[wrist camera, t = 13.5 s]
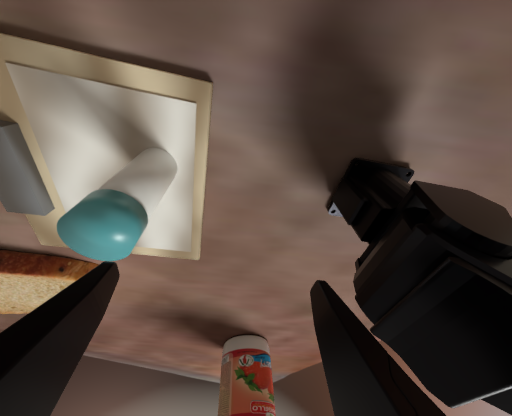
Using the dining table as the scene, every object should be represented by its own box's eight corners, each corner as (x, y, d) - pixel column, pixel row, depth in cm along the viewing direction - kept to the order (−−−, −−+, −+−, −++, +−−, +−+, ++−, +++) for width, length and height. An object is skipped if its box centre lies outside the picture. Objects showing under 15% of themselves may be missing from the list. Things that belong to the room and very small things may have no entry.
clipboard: (213, 82, 15) (209, 84, 13) (200, 255, 26) (197, 268, 24) (-68, 16, 12) (-116, 8, 11) (47, 239, 23) (32, 253, 21)
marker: (178, 150, 17) (128, 216, 9) (178, 185, 19) (136, 263, 11) (134, 142, 16) (45, 206, 9) (139, 179, 18) (69, 257, 11)
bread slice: (125, 274, 28) (110, 300, 25) (60, 319, 33) (42, 344, 30) (-49, 184, 19) (-106, 206, 16) (-97, 265, 25) (-145, 293, 22)
